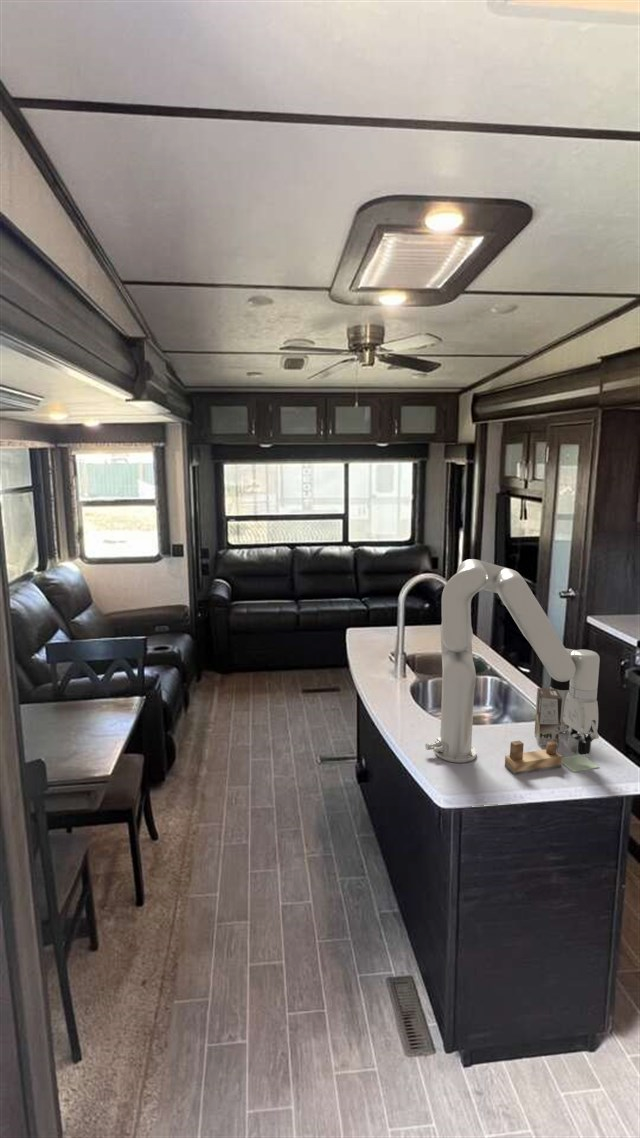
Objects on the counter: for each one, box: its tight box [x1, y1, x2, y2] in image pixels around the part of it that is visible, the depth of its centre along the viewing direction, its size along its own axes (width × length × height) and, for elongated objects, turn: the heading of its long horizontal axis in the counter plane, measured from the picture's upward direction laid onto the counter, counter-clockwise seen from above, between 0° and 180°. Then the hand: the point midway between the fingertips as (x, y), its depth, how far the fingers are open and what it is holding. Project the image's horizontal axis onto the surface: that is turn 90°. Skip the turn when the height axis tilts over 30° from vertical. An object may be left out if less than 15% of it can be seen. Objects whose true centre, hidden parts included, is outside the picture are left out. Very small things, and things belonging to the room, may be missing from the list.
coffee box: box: [534, 687, 562, 747], centre depth 196 cm, size 9×6×16 cm
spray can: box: [549, 676, 570, 734], centre depth 203 cm, size 7×7×20 cm
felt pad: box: [562, 754, 600, 773], centre depth 182 cm, size 9×8×1 cm
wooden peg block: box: [504, 740, 563, 776], centre depth 179 cm, size 16×5×8 cm, turn 107°
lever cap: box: [566, 732, 592, 755], centre depth 180 cm, size 5×4×6 cm
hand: (578, 749), depth 181 cm, fingers closed on lever cap, 4 cm apart
